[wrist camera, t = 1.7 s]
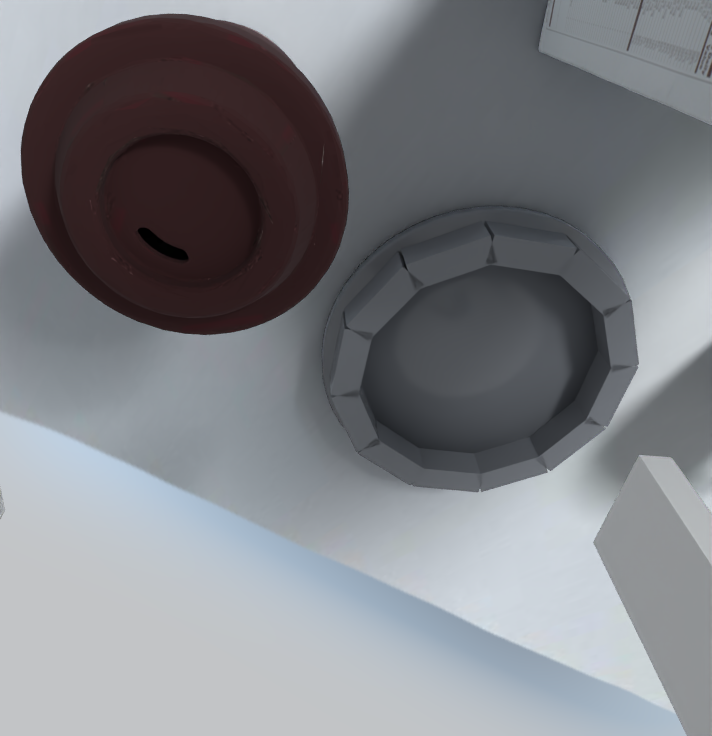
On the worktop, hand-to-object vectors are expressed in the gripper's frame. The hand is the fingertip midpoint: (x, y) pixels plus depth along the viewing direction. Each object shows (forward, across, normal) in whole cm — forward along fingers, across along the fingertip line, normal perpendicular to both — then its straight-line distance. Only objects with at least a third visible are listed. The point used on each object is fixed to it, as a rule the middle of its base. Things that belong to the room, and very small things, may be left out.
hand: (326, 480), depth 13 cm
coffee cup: (+24, -4, +2) cm, 24 cm away
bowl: (+23, +11, -10) cm, 28 cm away
